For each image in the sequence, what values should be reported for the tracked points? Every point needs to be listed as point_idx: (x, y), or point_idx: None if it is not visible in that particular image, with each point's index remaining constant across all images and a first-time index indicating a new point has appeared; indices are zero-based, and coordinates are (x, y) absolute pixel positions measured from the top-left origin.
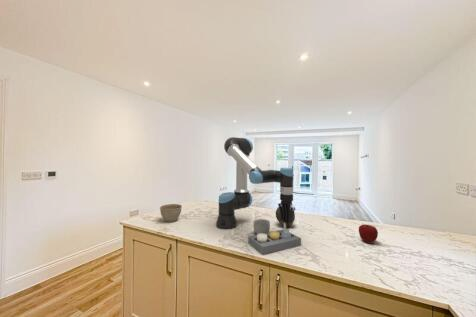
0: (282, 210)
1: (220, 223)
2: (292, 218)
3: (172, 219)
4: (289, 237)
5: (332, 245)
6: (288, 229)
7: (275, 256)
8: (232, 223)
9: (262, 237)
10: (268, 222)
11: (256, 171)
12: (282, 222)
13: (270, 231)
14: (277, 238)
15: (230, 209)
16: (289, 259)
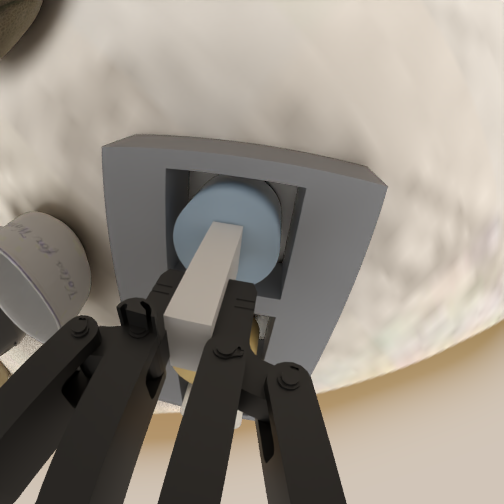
0: (14, 461)
1: (11, 347)
2: (328, 457)
3: (4, 373)
4: (296, 264)
5: (486, 6)
6: (233, 258)
7: (331, 375)
8: (3, 322)
9: (235, 427)
10: (7, 245)
11: None
12: (1, 55)
13: (175, 369)
14: (256, 352)
15: None
16: (393, 352)
